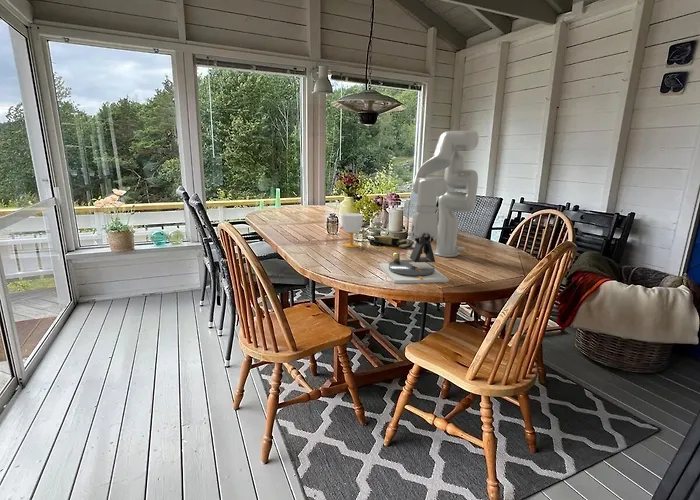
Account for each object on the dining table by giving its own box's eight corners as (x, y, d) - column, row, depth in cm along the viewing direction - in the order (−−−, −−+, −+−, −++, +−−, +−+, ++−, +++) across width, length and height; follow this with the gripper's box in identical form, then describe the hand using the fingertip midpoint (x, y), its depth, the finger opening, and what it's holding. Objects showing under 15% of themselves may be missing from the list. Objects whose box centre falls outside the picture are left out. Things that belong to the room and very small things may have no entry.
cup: (341, 242, 214) (341, 212, 210) (362, 243, 213) (363, 213, 209) (339, 247, 202) (340, 215, 198) (362, 248, 202) (363, 216, 198)
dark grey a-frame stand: (430, 258, 164) (432, 230, 161) (435, 262, 158) (437, 233, 155) (409, 258, 162) (411, 230, 159) (414, 262, 157) (416, 233, 154)
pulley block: (405, 239, 197) (362, 230, 218) (403, 250, 198) (361, 240, 218) (420, 239, 207) (378, 231, 228) (418, 250, 208) (376, 241, 228)
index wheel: (391, 261, 172) (392, 249, 170) (435, 265, 167) (436, 253, 166) (385, 273, 154) (386, 260, 152) (433, 278, 149) (434, 264, 148)
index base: (426, 265, 173) (427, 261, 173) (448, 281, 150) (448, 277, 150) (379, 266, 170) (379, 262, 169) (394, 283, 147) (394, 279, 146)
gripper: (440, 208, 160) (437, 251, 164) (404, 208, 158) (402, 251, 162) (447, 211, 153) (444, 255, 157) (410, 210, 150) (407, 255, 155)
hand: (422, 253), depth 159 cm, fingers closed on dark grey a-frame stand, 1 cm apart
